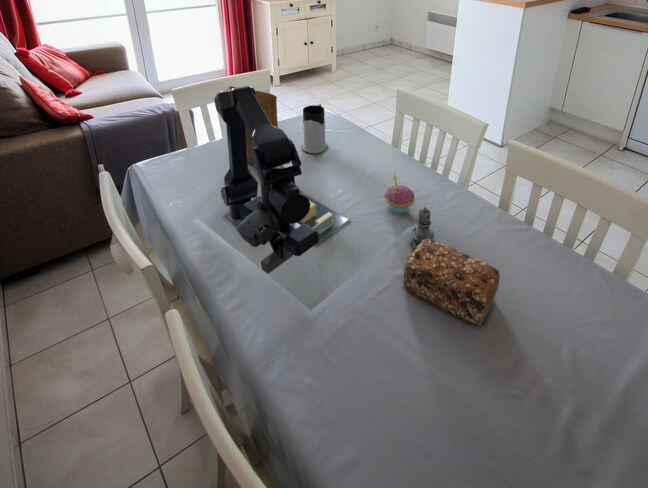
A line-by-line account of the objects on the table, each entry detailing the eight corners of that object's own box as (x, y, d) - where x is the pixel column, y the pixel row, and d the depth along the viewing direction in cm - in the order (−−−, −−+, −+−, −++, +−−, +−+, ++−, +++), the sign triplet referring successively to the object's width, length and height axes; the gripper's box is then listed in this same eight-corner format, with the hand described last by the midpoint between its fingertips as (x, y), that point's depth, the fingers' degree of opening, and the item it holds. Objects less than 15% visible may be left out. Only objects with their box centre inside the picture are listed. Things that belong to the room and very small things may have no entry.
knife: (261, 269, 90) (260, 260, 89) (328, 222, 104) (328, 213, 103) (267, 274, 88) (266, 265, 87) (334, 225, 103) (334, 217, 102)
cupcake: (380, 214, 121) (381, 178, 117) (389, 197, 129) (391, 163, 124) (409, 222, 118) (412, 185, 114) (417, 204, 126) (420, 169, 121)
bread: (497, 298, 95) (503, 263, 91) (479, 333, 87) (485, 296, 83) (422, 261, 105) (425, 228, 101) (400, 289, 97) (402, 254, 93)
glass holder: (299, 151, 153) (297, 113, 147) (310, 133, 166) (309, 97, 160) (323, 154, 151) (322, 115, 146) (332, 135, 164) (332, 99, 159)
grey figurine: (432, 255, 107) (436, 215, 102) (409, 251, 108) (412, 212, 103) (433, 239, 112) (437, 201, 108) (411, 236, 113) (414, 198, 109)
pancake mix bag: (274, 178, 137) (268, 97, 126) (232, 161, 146) (224, 84, 136) (288, 168, 142) (284, 90, 132) (247, 152, 152) (240, 78, 141)
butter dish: (272, 215, 120) (272, 212, 120) (304, 196, 129) (303, 193, 128) (316, 245, 109) (316, 242, 109) (348, 222, 118) (348, 219, 117)
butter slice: (315, 231, 113) (315, 220, 111) (328, 222, 116) (328, 211, 115) (319, 234, 112) (319, 223, 110) (332, 224, 115) (332, 214, 114)
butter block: (283, 211, 120) (282, 200, 119) (297, 203, 124) (296, 192, 123) (302, 223, 116) (302, 213, 114) (316, 214, 119) (316, 204, 118)
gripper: (214, 194, 86) (222, 255, 92) (274, 235, 75) (279, 302, 80) (259, 171, 94) (264, 229, 99) (319, 206, 82) (321, 269, 88)
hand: (280, 256), depth 92 cm, fingers closed on knife, 2 cm apart
